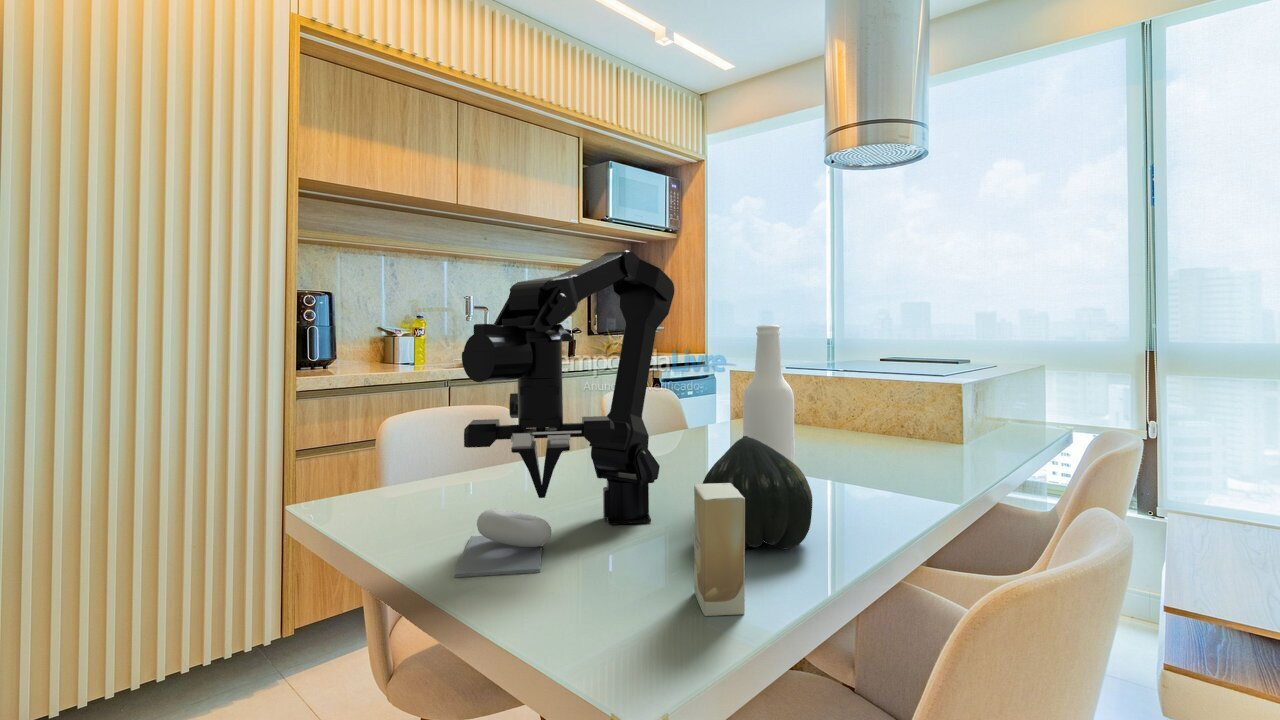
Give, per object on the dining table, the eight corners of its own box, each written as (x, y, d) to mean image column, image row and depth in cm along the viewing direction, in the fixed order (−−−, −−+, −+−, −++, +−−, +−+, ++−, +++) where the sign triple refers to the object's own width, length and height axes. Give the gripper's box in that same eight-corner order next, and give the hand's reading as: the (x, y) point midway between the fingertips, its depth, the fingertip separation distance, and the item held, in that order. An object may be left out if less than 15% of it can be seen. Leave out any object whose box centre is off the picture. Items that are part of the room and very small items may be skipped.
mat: (542, 535, 88) (542, 532, 88) (540, 572, 75) (539, 568, 75) (471, 539, 87) (470, 536, 87) (454, 577, 73) (454, 574, 73)
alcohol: (794, 490, 112) (793, 325, 111) (794, 503, 103) (794, 324, 102) (744, 488, 114) (744, 325, 113) (741, 501, 105) (740, 325, 104)
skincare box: (693, 592, 68) (692, 482, 68) (731, 590, 69) (731, 481, 68) (704, 618, 62) (703, 497, 61) (746, 616, 62) (745, 496, 62)
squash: (810, 529, 73) (808, 422, 82) (686, 524, 77) (697, 423, 86) (815, 574, 83) (813, 475, 92) (705, 568, 87) (714, 474, 97)
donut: (540, 525, 77) (466, 509, 79) (534, 553, 76) (460, 536, 78) (563, 519, 86) (497, 505, 88) (558, 544, 86) (491, 529, 88)
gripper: (606, 372, 89) (607, 480, 90) (473, 375, 86) (475, 485, 87) (614, 377, 78) (615, 500, 78) (462, 380, 75) (464, 507, 76)
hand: (541, 497), depth 80 cm, fingers closed
